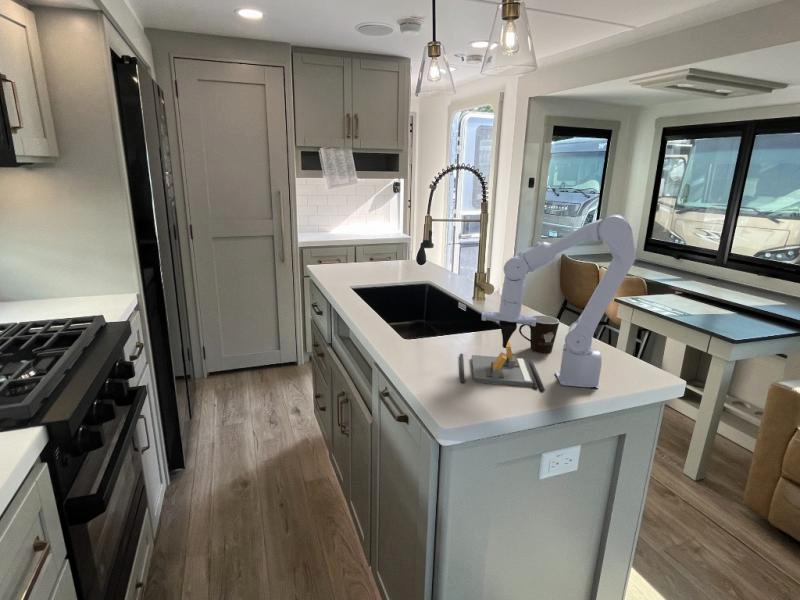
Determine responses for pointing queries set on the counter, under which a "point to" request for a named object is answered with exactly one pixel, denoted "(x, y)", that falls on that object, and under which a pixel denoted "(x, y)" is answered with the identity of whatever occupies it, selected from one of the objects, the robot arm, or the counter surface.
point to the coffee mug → (542, 334)
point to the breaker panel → (501, 371)
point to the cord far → (462, 368)
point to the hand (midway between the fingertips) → (504, 346)
